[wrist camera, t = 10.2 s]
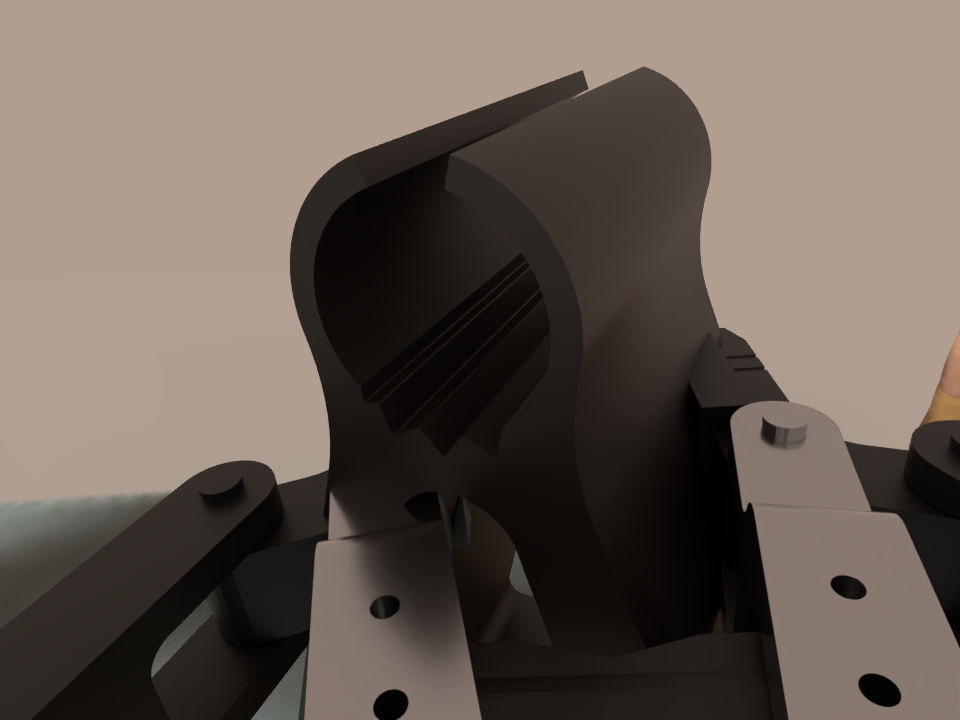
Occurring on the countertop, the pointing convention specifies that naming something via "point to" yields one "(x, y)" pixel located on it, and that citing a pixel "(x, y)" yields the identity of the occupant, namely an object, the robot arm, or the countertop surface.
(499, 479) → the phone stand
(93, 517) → the countertop surface
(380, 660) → the robot arm
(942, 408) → the ammunition clip
